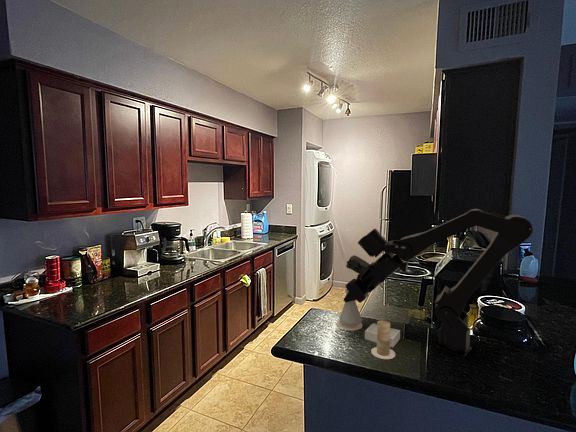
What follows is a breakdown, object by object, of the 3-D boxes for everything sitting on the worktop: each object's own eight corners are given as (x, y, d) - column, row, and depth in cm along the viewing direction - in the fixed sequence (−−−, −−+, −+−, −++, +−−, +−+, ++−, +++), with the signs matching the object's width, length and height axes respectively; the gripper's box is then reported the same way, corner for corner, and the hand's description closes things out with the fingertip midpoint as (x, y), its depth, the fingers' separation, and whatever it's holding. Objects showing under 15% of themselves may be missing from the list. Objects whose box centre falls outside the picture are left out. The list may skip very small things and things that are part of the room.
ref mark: (399, 353, 80) (399, 352, 80) (387, 362, 76) (387, 361, 76) (378, 344, 84) (378, 344, 84) (366, 352, 80) (366, 352, 80)
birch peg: (391, 352, 80) (392, 323, 79) (385, 357, 78) (386, 326, 77) (380, 348, 82) (381, 319, 82) (374, 352, 80) (374, 322, 80)
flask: (359, 327, 92) (359, 295, 91) (335, 323, 95) (335, 291, 94) (364, 318, 98) (364, 287, 97) (342, 314, 102) (342, 285, 101)
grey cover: (400, 339, 87) (400, 330, 87) (393, 347, 83) (393, 338, 82) (372, 331, 92) (373, 322, 92) (364, 339, 88) (364, 330, 87)
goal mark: (367, 324, 97) (367, 324, 97) (352, 333, 91) (352, 332, 91) (346, 317, 103) (346, 316, 103) (331, 324, 97) (331, 324, 97)
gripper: (371, 243, 101) (340, 272, 107) (352, 254, 85) (316, 287, 91) (396, 269, 97) (362, 298, 104) (381, 286, 81) (341, 318, 88)
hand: (346, 299), depth 97 cm, fingers closed on flask, 3 cm apart
